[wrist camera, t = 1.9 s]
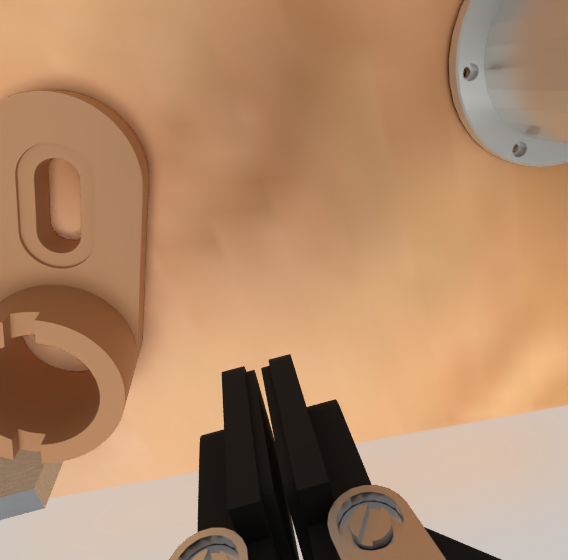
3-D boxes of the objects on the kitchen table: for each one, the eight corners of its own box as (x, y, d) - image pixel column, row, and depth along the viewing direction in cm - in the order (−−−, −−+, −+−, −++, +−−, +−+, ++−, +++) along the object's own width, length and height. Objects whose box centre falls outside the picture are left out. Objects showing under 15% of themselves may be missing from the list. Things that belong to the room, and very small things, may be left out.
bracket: (141, 387, 32) (123, 463, 25) (6, 382, 30) (-49, 462, 24) (152, 103, 25) (132, 108, 19) (-19, 78, 24) (-104, 76, 17)
